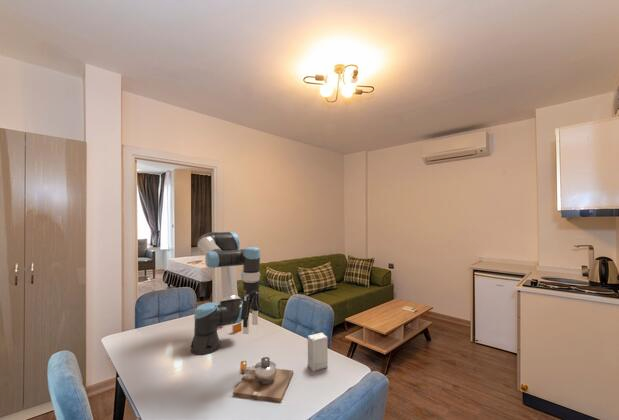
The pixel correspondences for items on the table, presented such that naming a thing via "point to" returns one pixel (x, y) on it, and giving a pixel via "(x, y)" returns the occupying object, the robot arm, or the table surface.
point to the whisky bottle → (236, 328)
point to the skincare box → (317, 351)
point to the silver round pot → (260, 370)
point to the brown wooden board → (264, 386)
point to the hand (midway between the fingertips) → (250, 329)
